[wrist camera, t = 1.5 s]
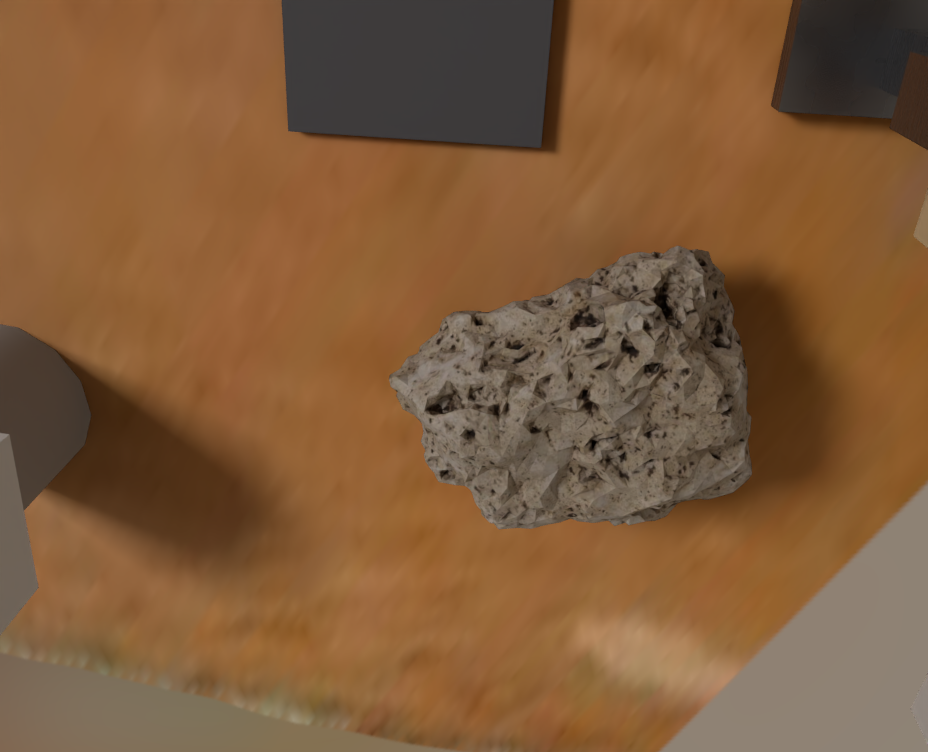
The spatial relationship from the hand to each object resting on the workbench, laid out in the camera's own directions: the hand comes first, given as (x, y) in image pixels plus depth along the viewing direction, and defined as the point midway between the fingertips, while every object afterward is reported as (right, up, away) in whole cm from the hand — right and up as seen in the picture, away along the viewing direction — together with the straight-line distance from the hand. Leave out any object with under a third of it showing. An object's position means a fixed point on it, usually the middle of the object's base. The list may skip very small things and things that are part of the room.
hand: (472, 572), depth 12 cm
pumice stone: (+5, +4, +26) cm, 27 cm away
